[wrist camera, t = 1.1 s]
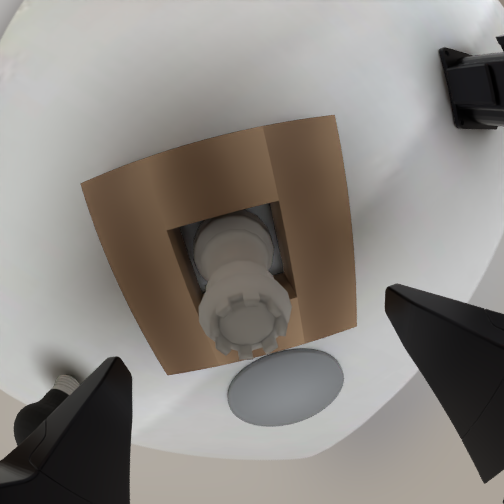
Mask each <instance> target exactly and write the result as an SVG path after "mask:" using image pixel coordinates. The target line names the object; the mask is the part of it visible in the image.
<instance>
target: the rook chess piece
mask: <svg viewBox="0 0 504 504" xmlns="http://www.w3.org/2000/svg"><path fill="white" fill-rule="evenodd" d="M273 253H274V245H273V242H272V239H271V236H270V233H269V230H268V227H267V226H266V225H265V224H264V223H263V222H262V220H261V219H260V218H259V217H258V216H256V215H254V214H252V213H250V212H248V211H245V210H239V211H235V212H231V213H228V214H224V215H220V216H216V217H213V218H209V219H206V220H205V221H204V222H203V223H202V224H201V225H200V226H199V228H198V230H197V233H196V235H195V237H194V239H193V254H194V262H195V264H196V266H197V269H198V271H199V273H200V275H201V276H202V277H203V278H204V279H205V280H206V281H207V282H208V283H207V285H206V292H205V294H204V296H203V299H202V301H201V303H200V305H199V323H200V325H201V327H202V328H203V330H204V332H205V334H206V335H207V336H208V337H209V338H211V339H212V340H213V341H214V342H215V345H216V349H217V350H218V351H220V352H221V353H223V354H224V355H225V356H226V355H227V354H228V353H229V352H230V351H231V349H233V350H236V351H238V355H239V360H248V359H253V353H252V351H253V350H256V349H259V348H262V347H263V350H264V352H265V353H266V354H267V355H268V354H269V353H271V352H272V351H273V350H275V349H276V348H278V345H277V341H276V338H277V337H278V336H285V337H286V332H287V326H288V322H289V319H290V314H291V308H292V306H291V302H290V299H289V296H288V292H287V291H286V290H285V289H284V288H283V287H282V286H281V285H280V284H279V283H278V282H277V281H276V280H274V277H273V275H272V274H271V273H270V272H269V269H270V267H271V265H272V262H273Z"/></svg>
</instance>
